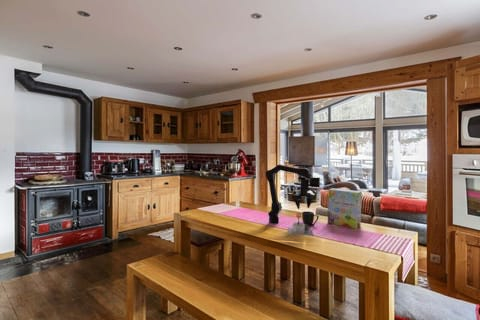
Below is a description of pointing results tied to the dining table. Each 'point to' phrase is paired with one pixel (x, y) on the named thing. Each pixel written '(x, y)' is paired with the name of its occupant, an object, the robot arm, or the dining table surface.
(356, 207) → the snack box
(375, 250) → the dining table surface
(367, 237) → the dining table surface
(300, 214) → the plunger
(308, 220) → the mug
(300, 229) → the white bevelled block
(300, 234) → the slate board
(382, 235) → the dining table surface
